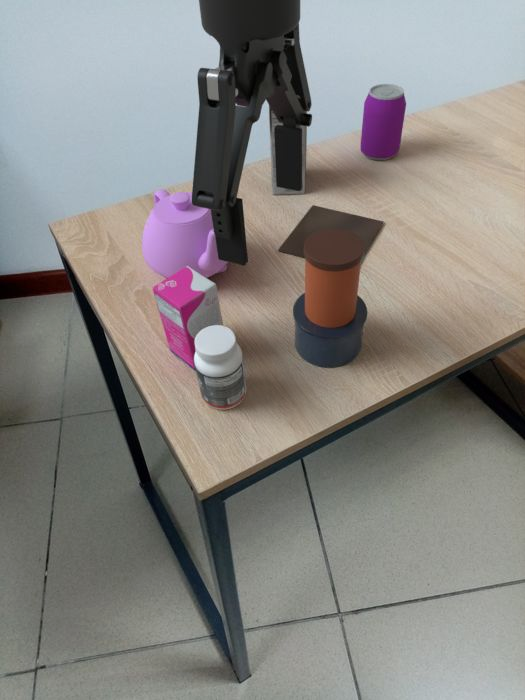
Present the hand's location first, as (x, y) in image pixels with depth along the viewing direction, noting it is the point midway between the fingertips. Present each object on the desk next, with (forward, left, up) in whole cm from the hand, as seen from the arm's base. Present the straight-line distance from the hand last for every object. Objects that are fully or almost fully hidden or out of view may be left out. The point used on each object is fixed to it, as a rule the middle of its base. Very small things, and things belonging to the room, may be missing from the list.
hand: (263, 221), depth 53 cm
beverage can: (+5, -59, -22) cm, 63 cm away
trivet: (+3, -29, -22) cm, 37 cm away
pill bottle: (+3, +7, -22) cm, 23 cm away
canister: (-5, -7, -16) cm, 18 cm away
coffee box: (+17, -42, -22) cm, 51 cm away
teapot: (+20, -13, -22) cm, 32 cm away
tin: (-5, -7, -22) cm, 24 cm away
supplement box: (+10, +2, -22) cm, 25 cm away
